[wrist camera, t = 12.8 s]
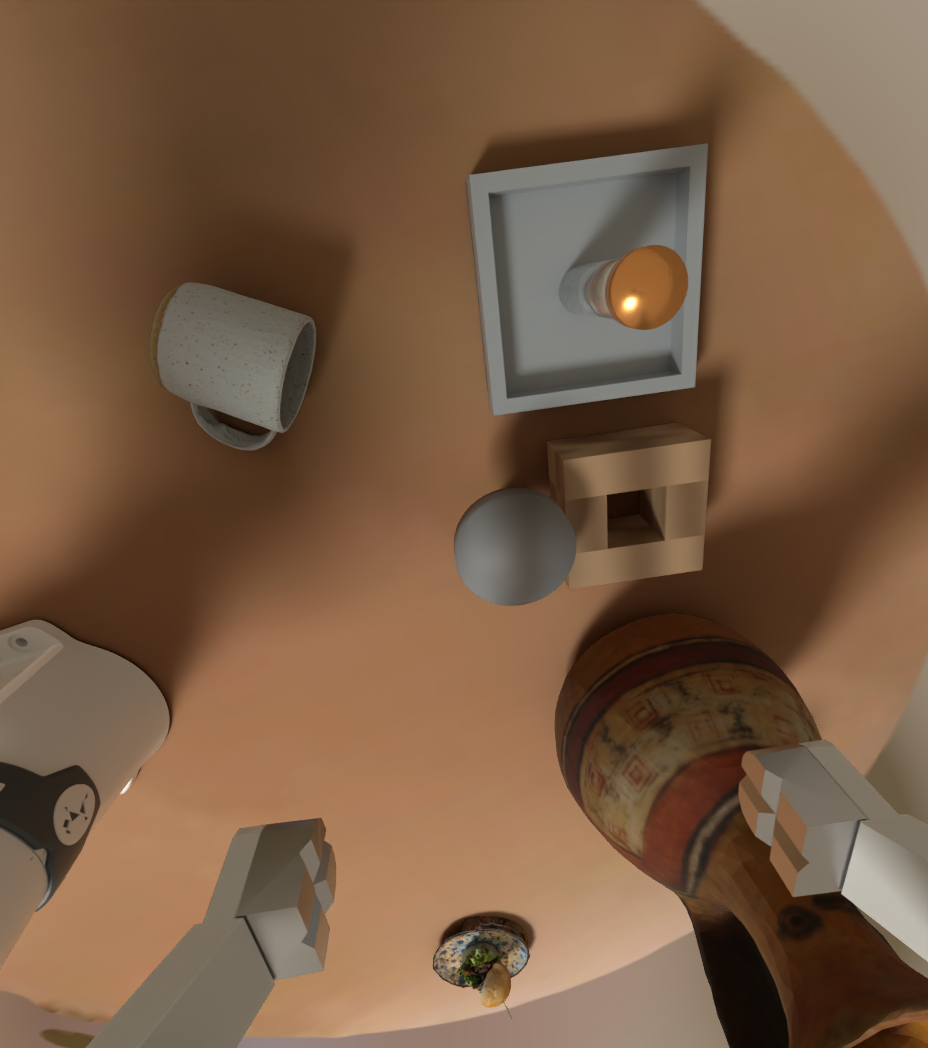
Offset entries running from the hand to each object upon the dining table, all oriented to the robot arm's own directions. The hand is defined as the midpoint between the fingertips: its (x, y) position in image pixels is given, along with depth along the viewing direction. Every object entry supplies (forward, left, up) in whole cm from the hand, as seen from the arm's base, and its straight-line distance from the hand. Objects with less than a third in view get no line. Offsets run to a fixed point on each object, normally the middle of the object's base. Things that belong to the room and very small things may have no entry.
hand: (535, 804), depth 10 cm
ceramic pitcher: (+15, -27, -31) cm, 44 cm away
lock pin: (+10, +8, -30) cm, 33 cm away
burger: (-5, -64, -32) cm, 72 cm away
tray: (+10, +8, -31) cm, 34 cm away
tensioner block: (+8, -7, -31) cm, 33 cm away
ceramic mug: (-13, +6, -31) cm, 34 cm away
